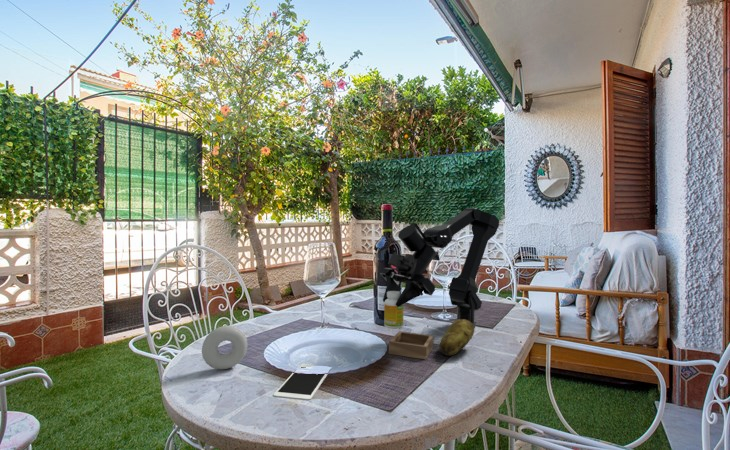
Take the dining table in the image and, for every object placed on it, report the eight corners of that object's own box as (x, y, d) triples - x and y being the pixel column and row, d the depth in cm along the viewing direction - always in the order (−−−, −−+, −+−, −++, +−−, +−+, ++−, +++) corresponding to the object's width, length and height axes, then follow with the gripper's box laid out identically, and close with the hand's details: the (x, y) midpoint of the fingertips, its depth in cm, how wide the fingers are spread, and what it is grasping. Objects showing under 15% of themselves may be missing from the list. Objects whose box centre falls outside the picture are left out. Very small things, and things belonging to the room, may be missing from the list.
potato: (426, 350, 99) (427, 321, 99) (461, 342, 106) (461, 314, 106) (449, 361, 92) (449, 329, 92) (484, 351, 99) (484, 322, 99)
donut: (202, 375, 81) (202, 330, 81) (200, 370, 84) (201, 326, 84) (248, 367, 86) (249, 325, 86) (246, 362, 89) (246, 321, 89)
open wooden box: (399, 342, 105) (399, 331, 105) (433, 346, 102) (433, 335, 102) (388, 353, 96) (389, 341, 96) (426, 359, 93) (426, 347, 93)
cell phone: (332, 368, 87) (332, 366, 87) (310, 402, 71) (310, 398, 71) (300, 366, 89) (300, 363, 89) (272, 398, 73) (272, 395, 73)
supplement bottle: (399, 330, 101) (399, 294, 101) (381, 327, 104) (381, 293, 103) (405, 324, 106) (406, 291, 106) (388, 322, 109) (388, 289, 108)
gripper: (384, 241, 114) (355, 280, 108) (428, 246, 99) (396, 291, 93) (403, 265, 119) (376, 303, 113) (447, 272, 104) (418, 317, 98)
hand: (390, 303), depth 104 cm, fingers closed on supplement bottle, 5 cm apart
